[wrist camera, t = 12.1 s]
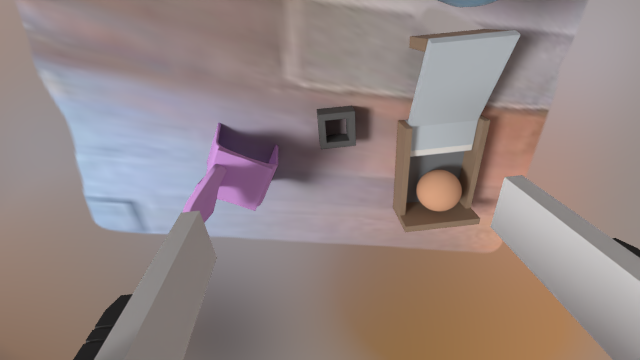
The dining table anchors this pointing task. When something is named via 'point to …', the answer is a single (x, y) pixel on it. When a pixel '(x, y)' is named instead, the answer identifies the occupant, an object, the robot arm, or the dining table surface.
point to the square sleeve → (340, 139)
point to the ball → (439, 190)
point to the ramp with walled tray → (448, 121)
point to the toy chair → (231, 180)
